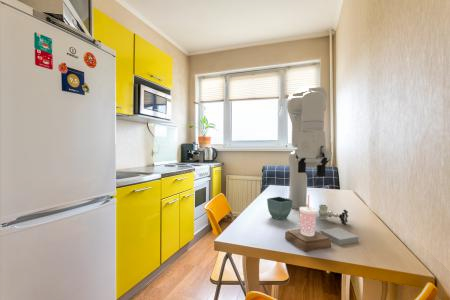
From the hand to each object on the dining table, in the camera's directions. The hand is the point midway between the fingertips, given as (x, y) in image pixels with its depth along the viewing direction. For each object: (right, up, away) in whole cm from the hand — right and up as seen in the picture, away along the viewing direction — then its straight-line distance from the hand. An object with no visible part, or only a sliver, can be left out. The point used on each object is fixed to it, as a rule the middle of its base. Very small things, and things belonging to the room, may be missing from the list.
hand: (310, 174), depth 80 cm
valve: (+19, -25, +23) cm, 38 cm away
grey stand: (+12, -25, +3) cm, 27 cm away
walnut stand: (-2, -24, -1) cm, 24 cm away
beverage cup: (-1, -22, -1) cm, 22 cm away
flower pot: (-5, -24, +26) cm, 35 cm away
